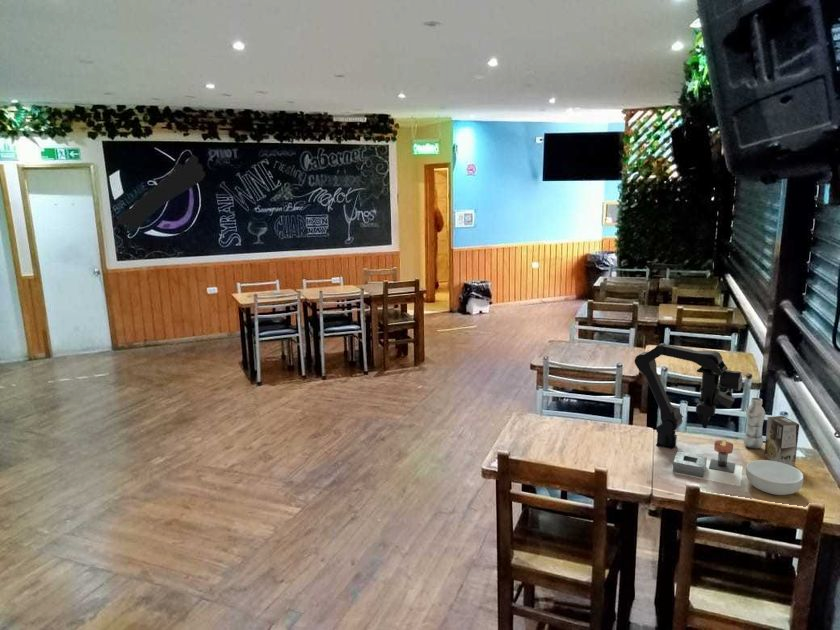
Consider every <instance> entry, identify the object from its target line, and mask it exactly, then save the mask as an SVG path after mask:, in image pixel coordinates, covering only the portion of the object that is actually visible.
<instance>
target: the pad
mask: <svg viewBox="0 0 840 630" xmlns="http://www.w3.org/2000/svg"><path fill="white" fill-rule="evenodd" d="M710 460H711V462H710V466H709V469H714V470H719V471H724V472H729V473H734V468H735V465H736V463H735V462H729V461H727V467H720V466H718V459H713V458H711V459H710Z"/></svg>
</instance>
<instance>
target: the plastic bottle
mask: <svg viewBox="0 0 840 630" xmlns="http://www.w3.org/2000/svg"><path fill="white" fill-rule="evenodd" d="M762 405H763V399H762V398H760V397H751V399H750V405H749V406H748V407H746V411H745V416H746V428H745V434H744V436H743V443H744V445H745V447H746V448H749V449H755V450H757V449H761V448H762V447H763V443H764V437H763V425H764V420H765V416H766V411H765V409H764V407H763V406H762Z"/></svg>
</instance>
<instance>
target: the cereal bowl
mask: <svg viewBox="0 0 840 630" xmlns="http://www.w3.org/2000/svg"><path fill="white" fill-rule="evenodd" d="M745 476H746V479H747V481H748V482H749V483H750V484H751V485H752V486H753V487H755V488H756V489H758V490H759V491H762V492H764V493H767V494H772V495H778V496H786V495H787V496H788V495H793V494H795V493H797V492H799V490H801V489H802V487H803V483H804V473H802V471H800V470H799V469H798V468H797V467H795V466H790V465H788V464H784V463H781V462H776V461H772V460H770V459H766V460H765V459H758V460H752V461H749V462H748V463H747V464H746V466H745Z"/></svg>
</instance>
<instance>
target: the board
mask: <svg viewBox="0 0 840 630" xmlns="http://www.w3.org/2000/svg"><path fill="white" fill-rule="evenodd" d="M710 462H711V459H710V460H709V459H707V463H706V470H705V473H704V477H703V478H700V477H695V476H690V475H685V474H680V473H675V472H673V473H674V474H676V475H683V476H687V477H692V478H696V479H701V480H707V481H711V482H712V481H713V482H716V483H721V484H727V485H733V486H737V487H741V482H742V475H743V474H742V473H743V467H744V466H742V465H738V464H735V468H734V473H729V472H724V471H719V470H714V469H709V466H710Z"/></svg>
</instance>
